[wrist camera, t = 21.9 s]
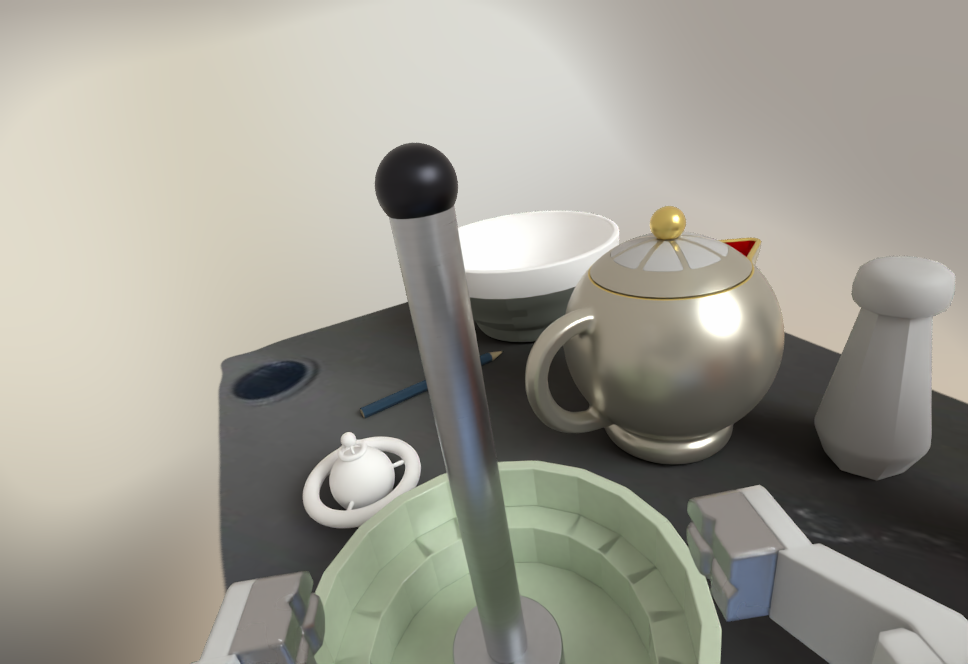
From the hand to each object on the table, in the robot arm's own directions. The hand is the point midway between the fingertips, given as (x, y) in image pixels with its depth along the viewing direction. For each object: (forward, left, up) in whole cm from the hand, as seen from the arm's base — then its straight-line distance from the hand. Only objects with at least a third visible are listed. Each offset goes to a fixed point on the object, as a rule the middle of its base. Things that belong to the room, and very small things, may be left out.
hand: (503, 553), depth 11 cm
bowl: (+41, +16, -16) cm, 47 cm away
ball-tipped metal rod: (+5, +4, -15) cm, 17 cm away
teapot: (+24, +1, -16) cm, 29 cm away
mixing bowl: (+5, +4, -16) cm, 17 cm away
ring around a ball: (+13, +18, -16) cm, 27 cm away
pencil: (+28, +20, -16) cm, 38 cm away
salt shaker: (+25, -12, -16) cm, 33 cm away
